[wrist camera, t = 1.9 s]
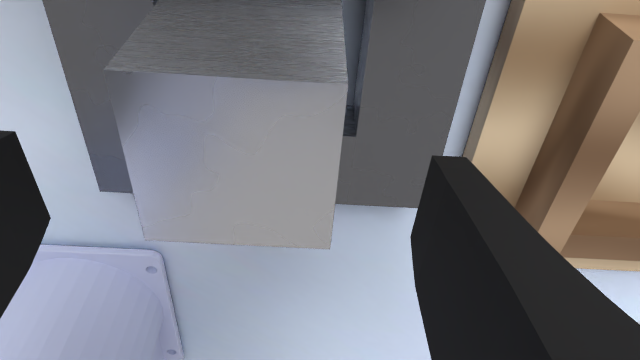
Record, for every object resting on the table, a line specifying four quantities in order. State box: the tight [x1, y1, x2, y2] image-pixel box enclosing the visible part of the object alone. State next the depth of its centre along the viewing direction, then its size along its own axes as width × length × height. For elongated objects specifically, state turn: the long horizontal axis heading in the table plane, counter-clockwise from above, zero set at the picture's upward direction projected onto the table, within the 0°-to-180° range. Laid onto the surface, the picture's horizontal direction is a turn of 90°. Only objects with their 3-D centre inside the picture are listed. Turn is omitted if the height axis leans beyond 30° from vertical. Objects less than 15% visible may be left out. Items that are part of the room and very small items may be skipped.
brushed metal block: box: [104, 0, 348, 249], centre depth 12 cm, size 4×4×8 cm
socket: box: [43, 0, 486, 208], centre depth 14 cm, size 12×12×2 cm
